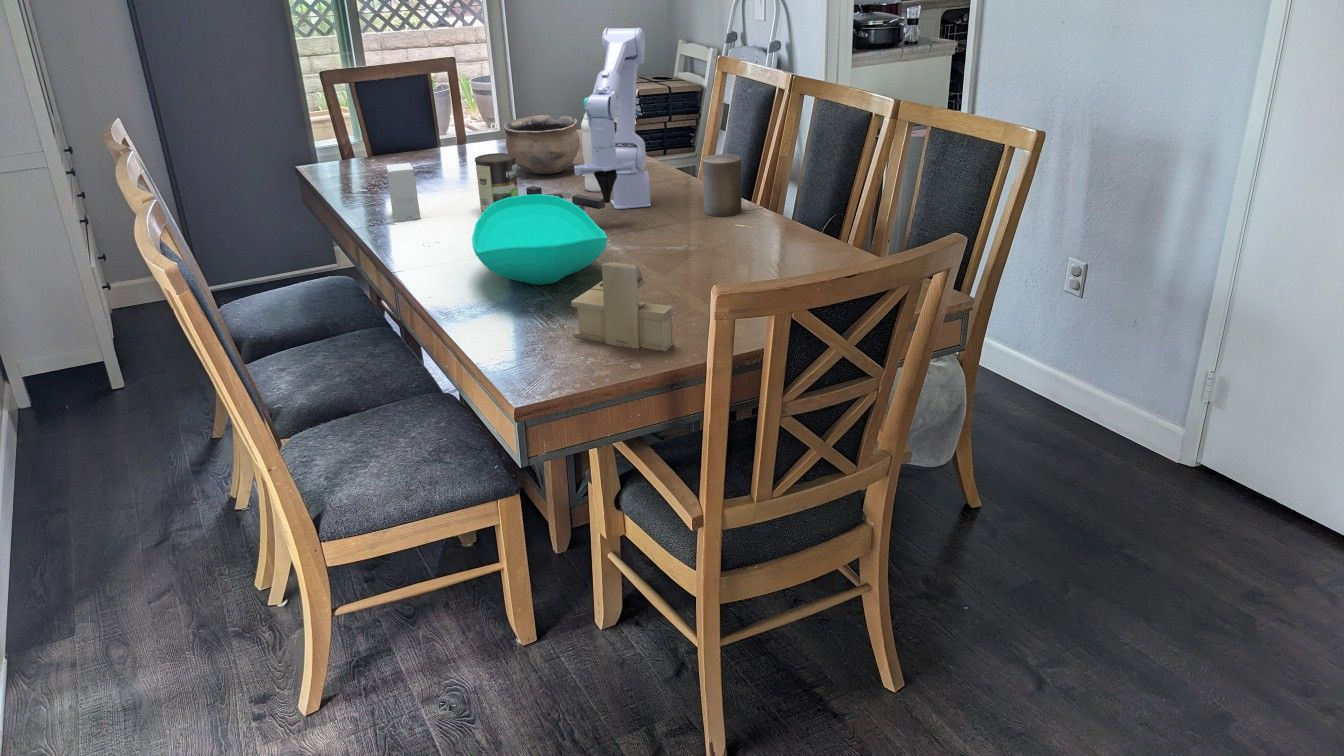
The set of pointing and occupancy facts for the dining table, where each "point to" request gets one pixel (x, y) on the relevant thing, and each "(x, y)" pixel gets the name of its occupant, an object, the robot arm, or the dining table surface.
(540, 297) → the dining table surface
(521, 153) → the ceramic bowl
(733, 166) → the pillar candle
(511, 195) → the coffee can
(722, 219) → the dining table surface
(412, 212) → the small box
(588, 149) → the water bottle
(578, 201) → the lid
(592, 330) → the toy kitchen set
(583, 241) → the table top decor
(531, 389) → the dining table surface
